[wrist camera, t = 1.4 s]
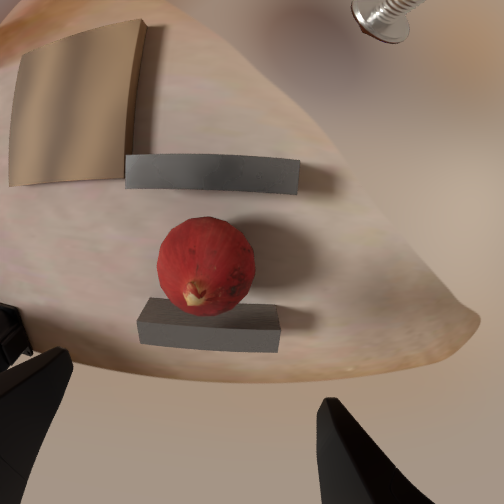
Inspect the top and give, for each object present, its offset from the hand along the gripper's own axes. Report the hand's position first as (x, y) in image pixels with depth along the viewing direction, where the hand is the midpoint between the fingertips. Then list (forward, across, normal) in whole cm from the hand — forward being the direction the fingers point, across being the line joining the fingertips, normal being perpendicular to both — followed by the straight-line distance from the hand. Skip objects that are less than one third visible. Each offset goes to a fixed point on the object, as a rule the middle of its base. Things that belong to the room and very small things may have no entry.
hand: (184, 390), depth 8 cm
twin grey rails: (+13, +1, 0) cm, 13 cm away
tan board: (+12, +14, -10) cm, 21 cm away
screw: (+15, -8, -20) cm, 26 cm away
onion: (+13, +1, 0) cm, 13 cm away
